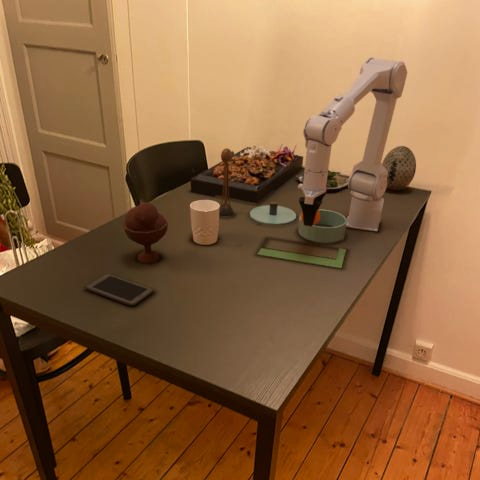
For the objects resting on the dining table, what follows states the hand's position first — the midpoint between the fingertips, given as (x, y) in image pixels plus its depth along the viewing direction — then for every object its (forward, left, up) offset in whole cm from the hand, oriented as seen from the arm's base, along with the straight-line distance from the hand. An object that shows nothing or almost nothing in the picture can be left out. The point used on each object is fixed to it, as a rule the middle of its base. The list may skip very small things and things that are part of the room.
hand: (309, 221), depth 122 cm
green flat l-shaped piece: (+1, +2, -8) cm, 9 cm away
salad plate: (+4, -54, -8) cm, 55 cm away
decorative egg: (-21, -58, -8) cm, 63 cm away
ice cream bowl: (+38, +19, -8) cm, 43 cm away
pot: (-2, -11, -8) cm, 14 cm away
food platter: (+30, -50, -8) cm, 59 cm away
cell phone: (+37, +36, -8) cm, 52 cm away
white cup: (+28, +4, -8) cm, 29 cm away
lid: (+14, -18, -8) cm, 24 cm away
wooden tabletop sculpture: (+28, -15, -8) cm, 33 cm away
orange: (0, 0, +2) cm, 2 cm away
